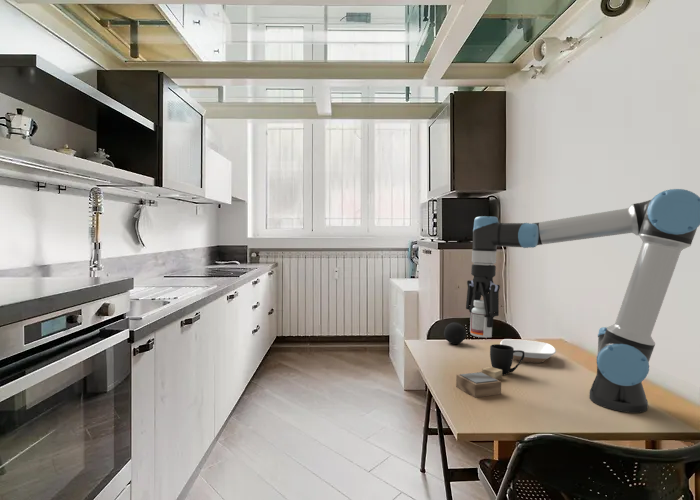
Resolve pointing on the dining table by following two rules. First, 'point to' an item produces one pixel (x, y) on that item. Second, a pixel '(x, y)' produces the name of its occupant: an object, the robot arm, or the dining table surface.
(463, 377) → the walnut stand
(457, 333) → the speaker
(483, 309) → the pill bottle
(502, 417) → the dining table surface
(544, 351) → the bowl
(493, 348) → the mug
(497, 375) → the oak offcut
